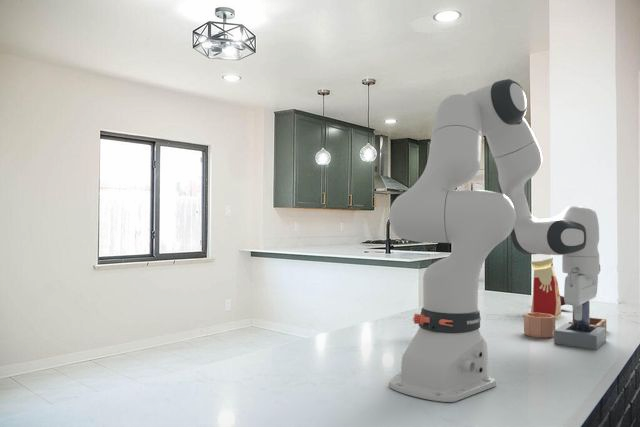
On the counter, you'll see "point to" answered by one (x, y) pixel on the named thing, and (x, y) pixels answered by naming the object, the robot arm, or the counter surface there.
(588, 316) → the cell
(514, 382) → the counter surface
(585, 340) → the grey rectangular frame box
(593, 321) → the trough
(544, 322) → the cup
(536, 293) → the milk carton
